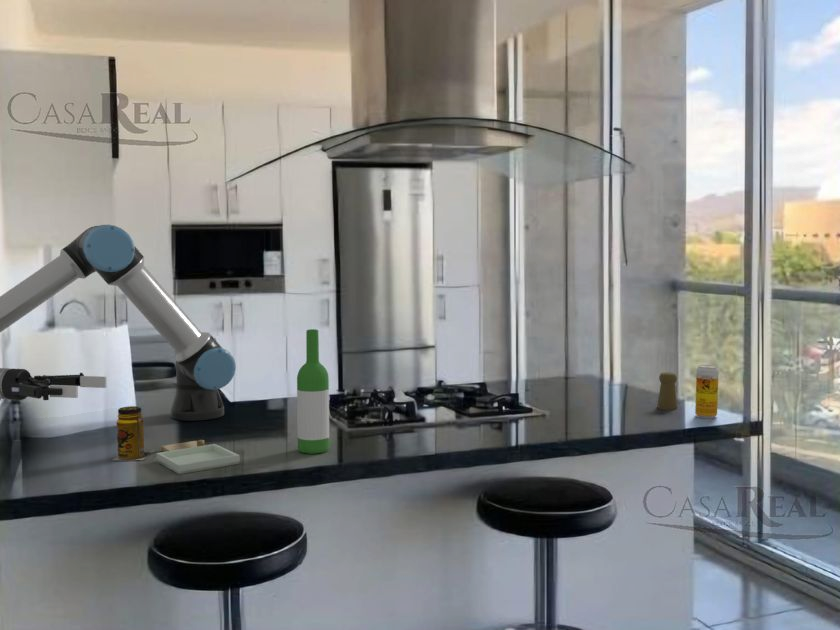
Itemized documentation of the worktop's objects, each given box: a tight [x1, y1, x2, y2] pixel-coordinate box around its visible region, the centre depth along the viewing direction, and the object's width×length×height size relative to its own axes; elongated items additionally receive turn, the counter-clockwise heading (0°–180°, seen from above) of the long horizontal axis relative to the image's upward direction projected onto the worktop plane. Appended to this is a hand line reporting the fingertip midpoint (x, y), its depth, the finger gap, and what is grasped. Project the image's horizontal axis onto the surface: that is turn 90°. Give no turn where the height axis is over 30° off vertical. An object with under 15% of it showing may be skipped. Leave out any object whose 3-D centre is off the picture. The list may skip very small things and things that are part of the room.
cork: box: [656, 371, 678, 411], centre depth 261 cm, size 6×6×11 cm
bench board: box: [160, 439, 206, 452], centre depth 208 cm, size 9×8×2 cm
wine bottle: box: [296, 328, 330, 455], centre depth 207 cm, size 8×8×30 cm
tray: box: [156, 443, 241, 475], centre depth 197 cm, size 15×14×2 cm
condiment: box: [112, 405, 154, 462], centre depth 203 cm, size 7×8×12 cm
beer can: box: [694, 364, 720, 419], centre depth 248 cm, size 6×6×15 cm
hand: (92, 386), depth 203 cm, fingers open, 13 cm apart
